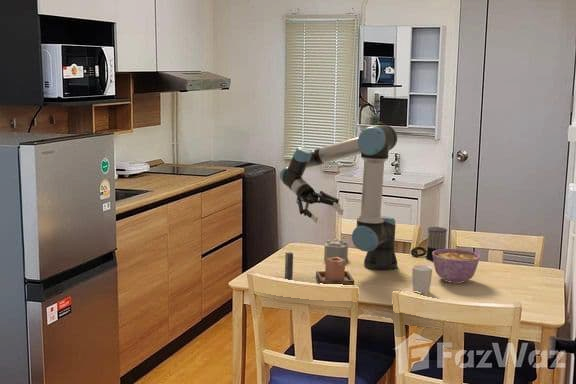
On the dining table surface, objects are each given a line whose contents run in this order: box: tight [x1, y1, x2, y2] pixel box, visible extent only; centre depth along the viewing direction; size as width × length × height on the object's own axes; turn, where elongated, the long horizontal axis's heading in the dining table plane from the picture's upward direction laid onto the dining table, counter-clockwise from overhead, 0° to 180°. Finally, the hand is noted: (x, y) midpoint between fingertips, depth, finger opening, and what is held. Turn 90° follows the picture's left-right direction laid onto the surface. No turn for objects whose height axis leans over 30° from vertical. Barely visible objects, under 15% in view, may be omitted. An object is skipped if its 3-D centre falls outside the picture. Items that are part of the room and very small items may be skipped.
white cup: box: [411, 264, 433, 294], centre depth 291 cm, size 8×8×10 cm
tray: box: [315, 270, 355, 286], centre depth 303 cm, size 14×14×2 cm
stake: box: [284, 252, 294, 280], centre depth 305 cm, size 2×2×11 cm
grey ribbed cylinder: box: [410, 226, 448, 262], centre depth 344 cm, size 14×16×15 cm
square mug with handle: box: [324, 257, 346, 280], centre depth 302 cm, size 6×8×9 cm
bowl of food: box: [432, 248, 481, 282], centre depth 308 cm, size 20×20×12 cm
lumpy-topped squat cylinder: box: [323, 238, 349, 262], centre depth 339 cm, size 10×13×9 cm
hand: (329, 216), depth 310 cm, fingers open, 13 cm apart
